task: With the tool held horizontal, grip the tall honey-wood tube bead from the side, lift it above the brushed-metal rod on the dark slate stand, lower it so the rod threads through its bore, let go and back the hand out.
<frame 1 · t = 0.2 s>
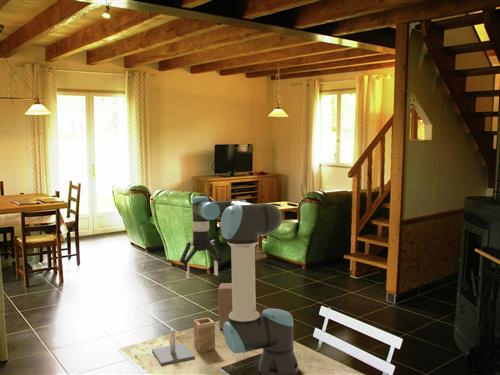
hand: (202, 276, 221), 27 cm above the table, tool pointing down, fingers open, 13 cm apart
metal rod stand: (173, 354, 201), on the table
wooden block: (230, 326, 233), on the table
wooden tube bead: (204, 348, 207), on the table
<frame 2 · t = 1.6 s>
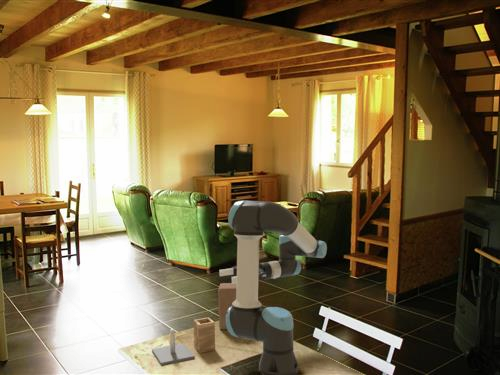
hand: (225, 276, 209), 30 cm above the table, tool horizontal, fingers open, 13 cm apart
nothing on the table moved.
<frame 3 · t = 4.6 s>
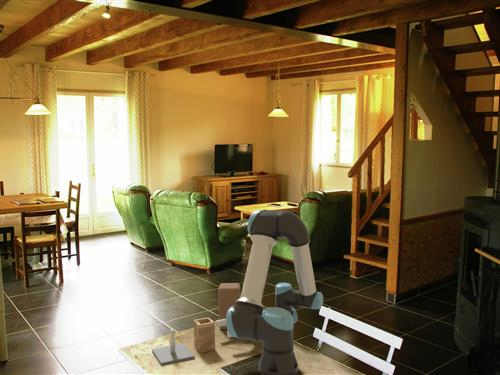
hand: (221, 328, 210), 7 cm above the table, tool horizontal, fingers open, 13 cm apart
nothing on the table moved.
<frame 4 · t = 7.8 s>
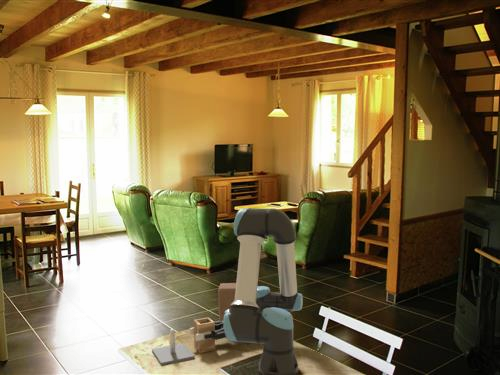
hand: (193, 334, 204), 7 cm above the table, tool horizontal, fingers closed on wooden tube bead, 7 cm apart
wooden tube bead: (204, 348, 207), on the table, touching gripper
everything else where it was.
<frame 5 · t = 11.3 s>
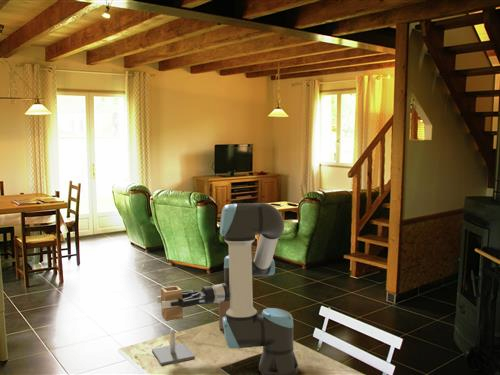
hand: (159, 302, 197), 23 cm above the table, tool horizontal, fingers closed on wooden tube bead, 7 cm apart
wooden tube bead: (172, 317, 200), point 16 cm above the table, touching gripper
everything else where it was.
when the fingers open (9 cm above the table, at t = 14.9 s): wooden tube bead drops 1 cm, resting on metal rod stand.
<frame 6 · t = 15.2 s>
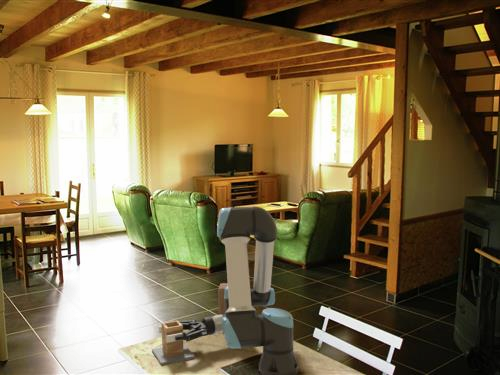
hand: (162, 334, 199), 9 cm above the table, tool horizontal, fingers open, 11 cm apart
wooden tube bead: (173, 352, 201), point 1 cm above the table, touching metal rod stand
everything else where it was.
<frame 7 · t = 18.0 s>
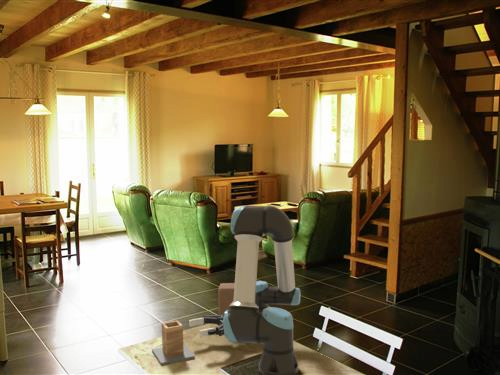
hand: (194, 328, 204), 10 cm above the table, tool horizontal, fingers open, 13 cm apart
nothing on the table moved.
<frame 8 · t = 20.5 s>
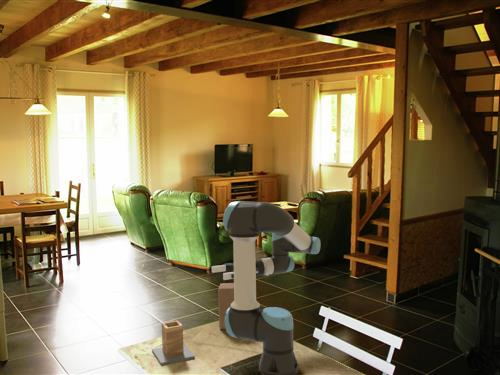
hand: (217, 273, 207), 32 cm above the table, tool horizontal, fingers open, 13 cm apart
nothing on the table moved.
at the end: wooden tube bead 0.0 cm off-centre on the metal rod stand, point 1.0 cm above the metal rod stand's base; wooden tube bead tilted 0°; the gripper is holding nothing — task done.
